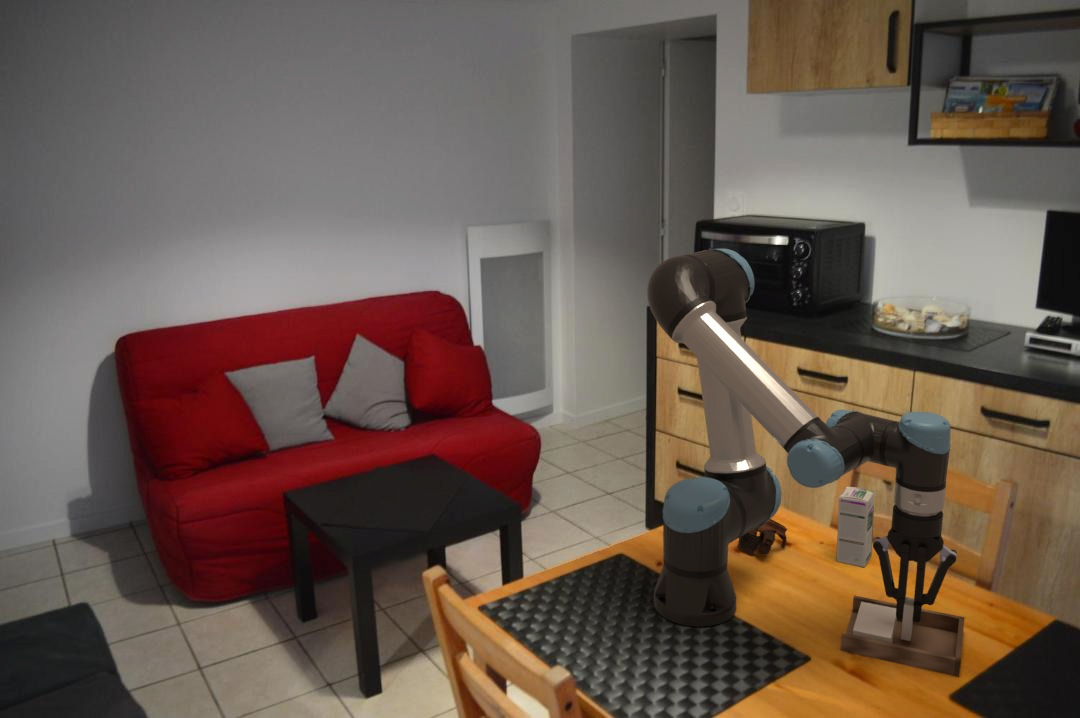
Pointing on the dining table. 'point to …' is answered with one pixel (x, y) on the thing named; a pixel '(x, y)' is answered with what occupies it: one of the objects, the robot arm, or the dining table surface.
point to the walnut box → (913, 641)
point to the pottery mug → (762, 538)
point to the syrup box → (855, 526)
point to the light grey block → (875, 622)
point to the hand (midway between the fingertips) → (906, 635)
